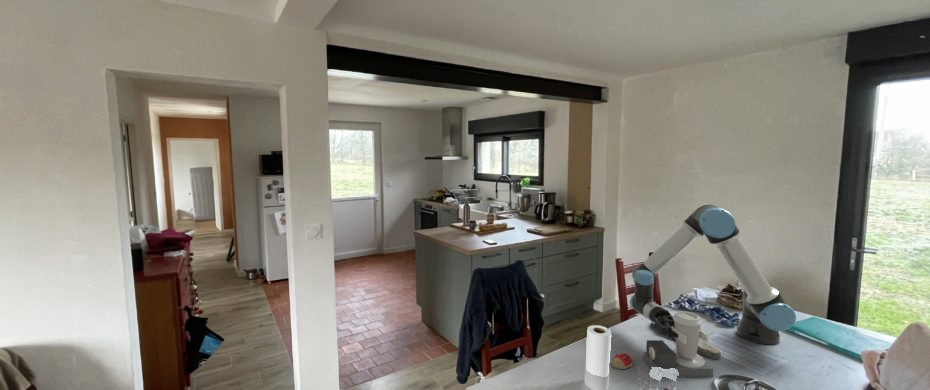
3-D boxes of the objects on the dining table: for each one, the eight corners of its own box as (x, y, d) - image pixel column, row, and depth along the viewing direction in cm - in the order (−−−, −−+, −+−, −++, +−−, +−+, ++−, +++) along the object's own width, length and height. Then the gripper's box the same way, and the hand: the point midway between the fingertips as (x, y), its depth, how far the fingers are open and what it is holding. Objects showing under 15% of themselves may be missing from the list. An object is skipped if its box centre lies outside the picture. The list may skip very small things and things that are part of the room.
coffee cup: (705, 361, 138) (706, 321, 137) (676, 359, 140) (677, 319, 139) (695, 348, 148) (696, 311, 146) (668, 346, 150) (669, 309, 148)
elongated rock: (707, 364, 149) (727, 362, 152) (709, 352, 148) (729, 350, 151) (645, 323, 183) (662, 322, 185) (646, 313, 182) (664, 312, 184)
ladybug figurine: (607, 365, 147) (607, 356, 147) (620, 357, 153) (620, 348, 153) (623, 372, 142) (624, 363, 142) (636, 363, 148) (637, 354, 148)
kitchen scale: (694, 359, 150) (695, 339, 150) (713, 376, 138) (714, 355, 138) (642, 359, 151) (643, 339, 150) (656, 376, 139) (657, 355, 138)
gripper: (679, 321, 163) (721, 346, 140) (633, 324, 160) (669, 351, 138) (679, 304, 162) (722, 327, 140) (634, 307, 159) (670, 331, 137)
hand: (696, 339), depth 139 cm, fingers closed on coffee cup, 8 cm apart
